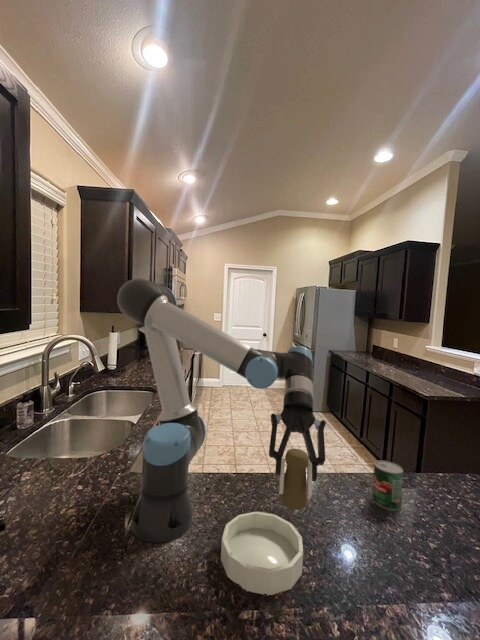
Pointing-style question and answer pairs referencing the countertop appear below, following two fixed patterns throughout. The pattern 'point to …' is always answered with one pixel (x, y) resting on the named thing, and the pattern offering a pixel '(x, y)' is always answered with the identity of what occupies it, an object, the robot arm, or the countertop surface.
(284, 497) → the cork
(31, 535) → the countertop surface
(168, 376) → the robot arm
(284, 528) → the bowl
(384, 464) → the canned tomato
